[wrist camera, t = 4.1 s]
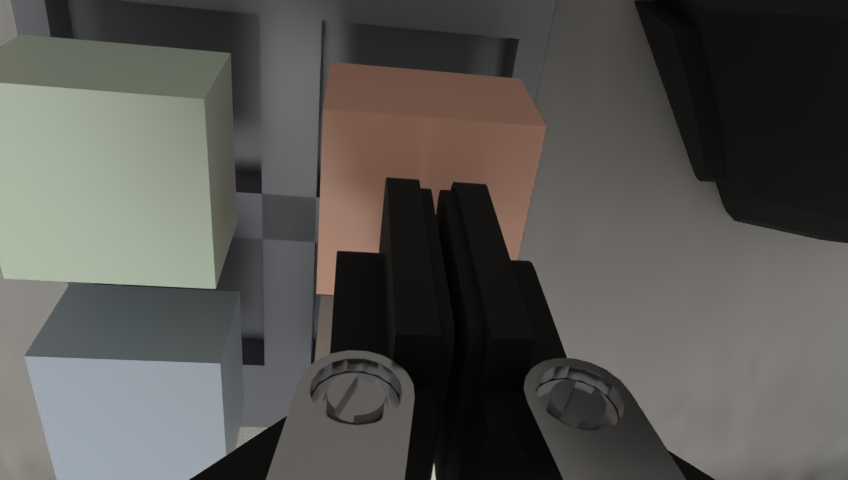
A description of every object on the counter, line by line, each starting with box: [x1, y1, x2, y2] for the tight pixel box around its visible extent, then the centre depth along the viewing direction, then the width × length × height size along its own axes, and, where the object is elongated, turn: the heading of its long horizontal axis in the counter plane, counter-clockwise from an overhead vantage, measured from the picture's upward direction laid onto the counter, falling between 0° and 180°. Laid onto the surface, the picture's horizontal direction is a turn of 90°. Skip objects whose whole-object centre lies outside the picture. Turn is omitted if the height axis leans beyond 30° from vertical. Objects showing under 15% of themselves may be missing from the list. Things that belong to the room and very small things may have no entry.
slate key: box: [24, 283, 244, 480], centre depth 17 cm, size 4×4×4 cm
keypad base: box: [11, 0, 557, 427], centre depth 19 cm, size 12×16×2 cm
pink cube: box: [316, 62, 547, 295], centre depth 15 cm, size 4×4×4 cm
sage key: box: [0, 34, 237, 289], centre depth 14 cm, size 4×4×4 cm
